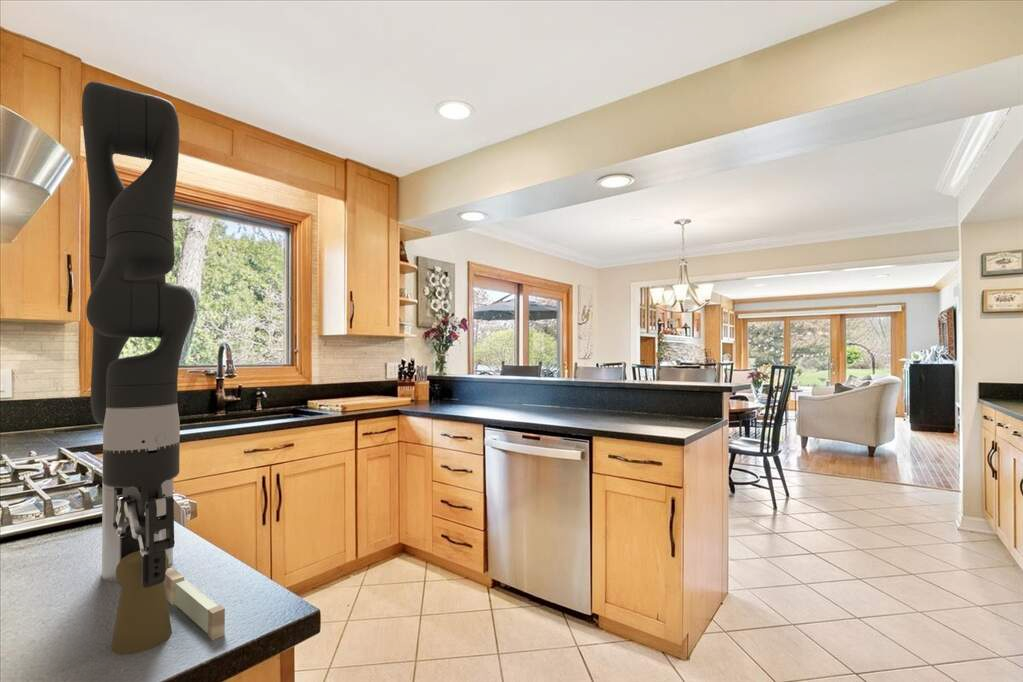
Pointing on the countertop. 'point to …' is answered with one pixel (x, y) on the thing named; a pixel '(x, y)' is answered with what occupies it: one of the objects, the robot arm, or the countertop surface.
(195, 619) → the gate door
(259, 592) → the countertop surface
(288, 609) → the countertop surface
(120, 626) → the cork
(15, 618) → the countertop surface
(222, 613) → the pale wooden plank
